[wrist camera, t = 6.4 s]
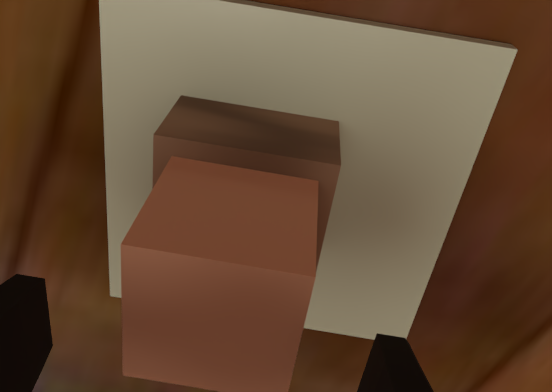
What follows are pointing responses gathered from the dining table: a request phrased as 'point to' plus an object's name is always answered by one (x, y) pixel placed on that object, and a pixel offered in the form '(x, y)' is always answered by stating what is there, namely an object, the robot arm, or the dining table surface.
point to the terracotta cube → (219, 277)
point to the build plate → (321, 104)
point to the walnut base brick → (253, 144)
